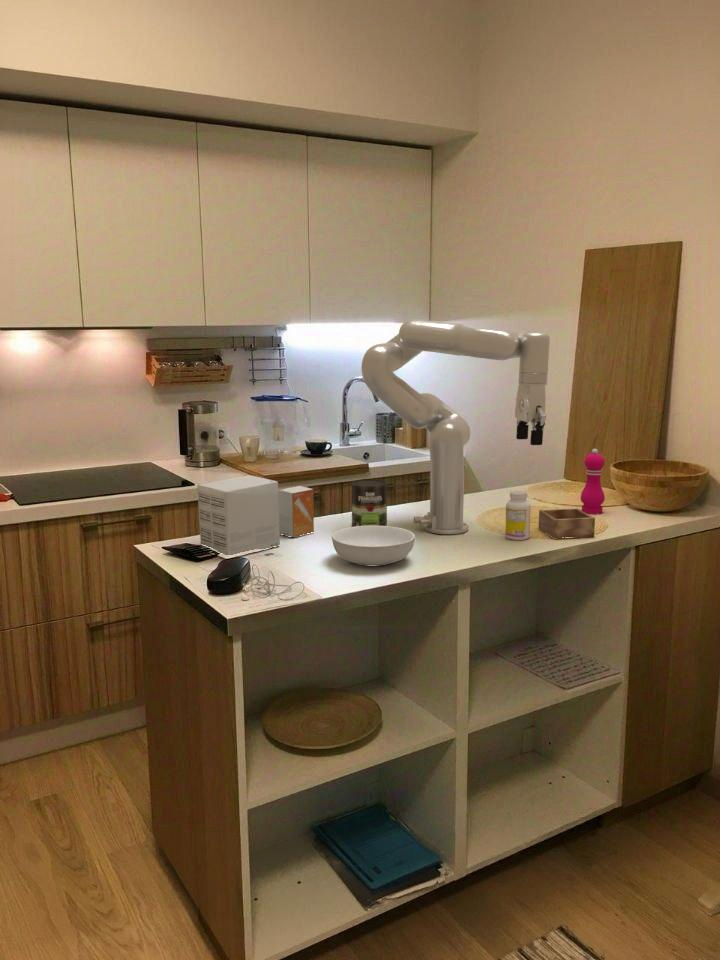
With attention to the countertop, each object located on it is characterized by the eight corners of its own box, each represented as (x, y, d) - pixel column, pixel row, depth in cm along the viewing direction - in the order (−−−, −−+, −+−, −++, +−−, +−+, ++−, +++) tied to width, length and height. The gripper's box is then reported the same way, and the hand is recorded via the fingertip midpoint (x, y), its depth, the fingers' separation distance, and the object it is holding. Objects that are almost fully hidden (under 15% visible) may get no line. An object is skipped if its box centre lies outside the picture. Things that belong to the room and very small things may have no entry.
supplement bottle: (515, 533, 228) (517, 488, 225) (534, 537, 223) (536, 492, 220) (500, 537, 224) (501, 492, 221) (518, 542, 219) (520, 496, 216)
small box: (293, 538, 224) (292, 493, 221) (278, 534, 228) (277, 489, 225) (314, 533, 229) (313, 488, 227) (300, 529, 234) (299, 485, 231)
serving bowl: (431, 560, 203) (432, 534, 202) (373, 579, 189) (373, 551, 187) (373, 544, 218) (373, 520, 216) (314, 561, 203) (314, 534, 202)
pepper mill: (606, 514, 248) (610, 450, 244) (583, 514, 248) (586, 450, 244) (600, 509, 255) (603, 446, 251) (577, 509, 255) (580, 446, 251)
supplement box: (251, 537, 225) (249, 474, 221) (281, 547, 216) (279, 481, 212) (198, 550, 213) (195, 483, 210) (228, 561, 204) (225, 491, 200)
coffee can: (388, 534, 227) (388, 485, 224) (352, 535, 227) (351, 486, 224) (386, 525, 237) (386, 478, 234) (351, 526, 237) (350, 479, 234)
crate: (554, 539, 221) (555, 520, 220) (538, 528, 232) (539, 510, 231) (594, 537, 223) (595, 518, 222) (576, 526, 234) (577, 508, 233)
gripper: (507, 376, 224) (504, 437, 227) (532, 382, 207) (528, 447, 211) (533, 376, 225) (529, 436, 229) (559, 382, 209) (555, 447, 212)
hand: (528, 442), depth 220 cm, fingers open, 9 cm apart
